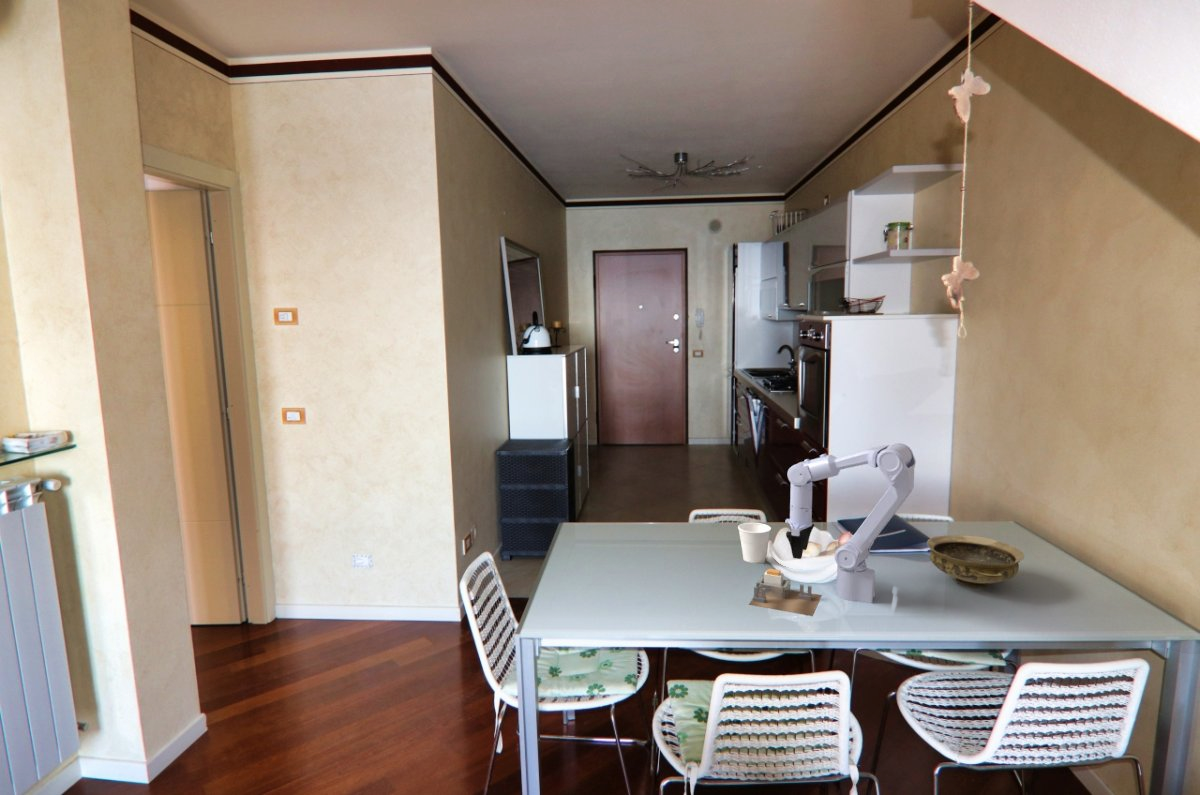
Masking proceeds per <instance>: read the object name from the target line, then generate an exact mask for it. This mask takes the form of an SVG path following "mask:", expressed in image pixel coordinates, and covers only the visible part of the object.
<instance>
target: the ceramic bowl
mask: <svg viewBox="0 0 1200 795" xmlns="http://www.w3.org/2000/svg"><path fill="white" fill-rule="evenodd" d="M926 546H927V547H928V548H929V549H930V553H929V554H930V556H929V558H930V561H931V562H932V564H933V565H934V566H935V568H937V569H938V570H939V571H941V572H943V573H944V574H946V575H948V576H950V577H952V578H954V579H955V582H956V583H958V584H961V585H963V586H965V587H971V588H985V587H988V586H989V584H996V583H1001V582H1006V581H1009V580H1011V579H1013V578H1014V577H1015V576H1016V575H1017V573H1018V572H1019V563H1020V562H1021V561H1023V560H1024V558H1025V554H1024V552H1023V551H1022V550H1020V549H1019V548H1017V547H1015V546H1013V545H1011V544H1009V543H1005V542H1003V541H999V540H995V539H992V538H988V537H983V536H974V535H960V534H959V535H957V534H955V535H953V534H945V535H937V536H933V537H930V538H928V540H927V541H926Z"/></svg>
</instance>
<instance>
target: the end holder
mask: <svg viewBox="0 0 1200 795" xmlns="http://www.w3.org/2000/svg"><path fill="white" fill-rule="evenodd" d="M791 582H792V581H791V579H788V578H783V586H777V585H771V584H765V583H764V574H763V575H761V576H760V578H759V579H758V580H757V582H756V586H755V587H758V594H759V595H762V588H766V591H765V596H770V597H776V598H782V599H786V597H787V595H788V594H789V592H790V590H791Z"/></svg>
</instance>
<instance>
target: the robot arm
mask: <svg viewBox="0 0 1200 795" xmlns="http://www.w3.org/2000/svg"><path fill="white" fill-rule="evenodd" d="M889 446H890V447H889ZM916 463H917V461H916V458H915V455H914V453H913V451H912V448H910V446H908V445H907V444H905V443H901V442H897V443H893V444H892V445H890V444H886V445H881V446H880V445H879V446H874V447H870V448H865V449H863V450H860V451H856V452H853V453H849V454H847V455H842V456H840V457H836V456H834V455H832V454H827V453H823V454H821V455H820V454H819V457H816V458H814V459H813V458H812V459H809V458H806V459H804V461H800V462H798V463H796V464H793V465H792V466H791V467H789V468H788V470H787V479H788V481H789V482H790V494H789V495H790V496H789V497H790V499H789V500H790V501H789V502H790V503H789V518H786V519H785V523H786V524H788V525H789V526H790V528H791V531H786V532H785V534H786V535H785V536H786V538H787V540H788V543H789V545H790V549H791V550H790V551H791V554H792V558H793V559H797V560H798V559H799V560H801V559H802V557H803V553H804V551H807V549H808V545H809V540H810V537H811V534H812V531H813V529H814V527H815V524H814V523H813V521H812V515H813V512H812V511H813V509H812V508H813V482H816V481H821V480H825V479H828V478H832V477H833V478H834V477H836V476H838V475H839V474H840V471H841V470H844V469H851V468H854V467H859V466H864V465H868V466H870V467H872V468H874V469H876V468H879V470H880V472H881V473H882V475H883V476H884V477H885V478H886V480H887V483H888V489H886V491H885V493H884V494H883V495H882V497H881V498H880V499H879V501H878V502H877V503H876V504H875V506H874V507H873V508H872V510H871V512H870V513H869V514H868V515H867V517H866V518H865V519H864V520H863V522H862V523H861V525H860V526H859V527H858V529H857V530H856V532H855V533H854V534H853V535H851V537H850V538H848V539H849V540H848V541H847V542H845V543H844V544H843V545H842V546H839V547H838V548H837V549H836V550H835V552H834V561H835V563H836V564H837V569H836V570H837V573H836V595H837V597H838V598H840V599H841V600H844V601H849V602H861V603H866V604H873V601H874V599H875V597H876V591H875V589H876V588H875V584H876V582H875V581H876V570H875V569H872V568H868V567H867V563H866V562H867V561H866V560H867V559H868V557H869V556H870V552H871V547H872V546H873V545H874V542H875V540H876V539H877V538H878V536H879V534H881V532H882V531H883V530H884V528H885V527H886V526H887V525H888V523H889V522H890V520H891V519H893V517H894V515H895V514H896V512H898V510H899V509H900V508H901V506H902V505H903V503H904V502H905V501H906V500H907V498H908V497H909V496H910V494H911V493H912V491H913V490H914V487H915V486H914V485H915V484H914V483H915V466H916Z"/></svg>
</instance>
